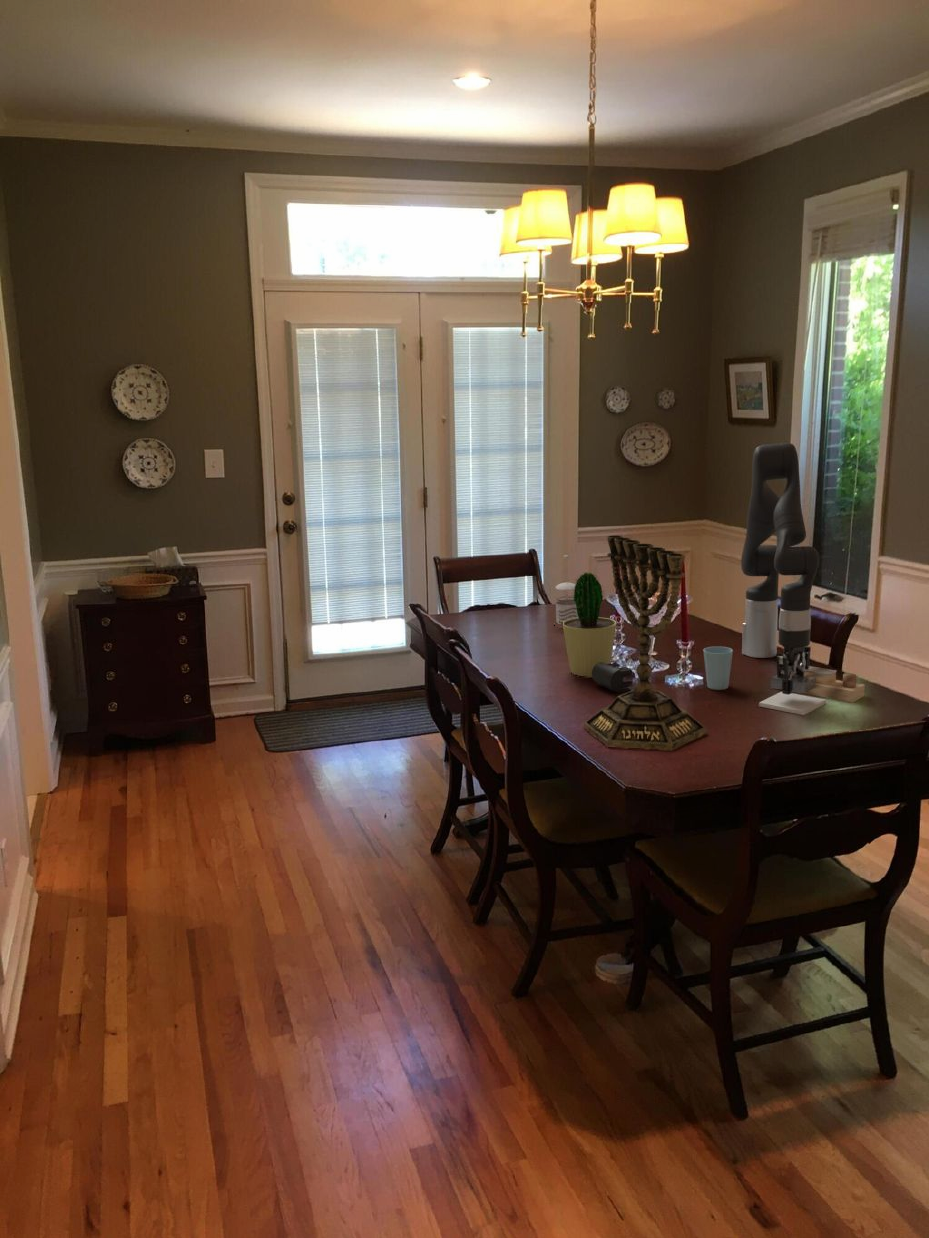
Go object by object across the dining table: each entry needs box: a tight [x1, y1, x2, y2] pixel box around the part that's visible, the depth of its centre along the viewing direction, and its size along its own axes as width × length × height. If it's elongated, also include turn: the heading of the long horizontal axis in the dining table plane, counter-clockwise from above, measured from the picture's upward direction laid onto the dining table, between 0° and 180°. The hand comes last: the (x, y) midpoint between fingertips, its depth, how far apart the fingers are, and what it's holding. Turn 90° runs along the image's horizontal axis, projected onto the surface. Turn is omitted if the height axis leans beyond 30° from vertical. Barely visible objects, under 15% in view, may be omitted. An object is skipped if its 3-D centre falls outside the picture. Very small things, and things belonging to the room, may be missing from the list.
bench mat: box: [758, 691, 827, 716], centre depth 255 cm, size 12×12×1 cm
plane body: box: [771, 665, 866, 703], centre depth 264 cm, size 22×7×8 cm, turn 46°
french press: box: [554, 554, 579, 624], centre depth 349 cm, size 10×12×25 cm
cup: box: [702, 646, 734, 691], centre depth 271 cm, size 8×8×10 cm
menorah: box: [583, 534, 708, 751], centre depth 235 cm, size 36×25×45 cm
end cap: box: [591, 662, 633, 694], centre depth 274 cm, size 10×7×7 cm
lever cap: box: [770, 672, 816, 694], centre depth 253 cm, size 9×6×3 cm, turn 46°
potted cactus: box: [563, 572, 617, 678], centre depth 289 cm, size 15×15×30 cm
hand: (792, 690), depth 254 cm, fingers closed on lever cap, 6 cm apart
